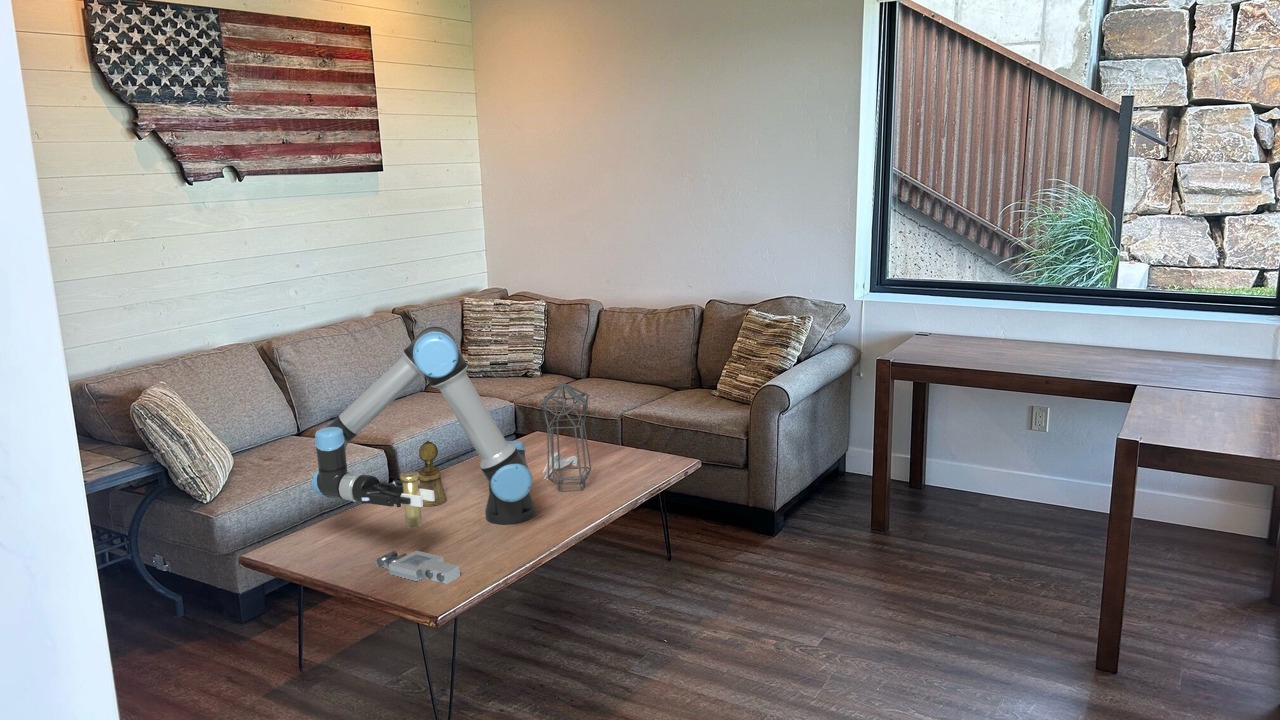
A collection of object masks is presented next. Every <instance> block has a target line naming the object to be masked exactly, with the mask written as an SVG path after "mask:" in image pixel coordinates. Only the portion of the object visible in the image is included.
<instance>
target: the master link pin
mask: <svg viewBox="0 0 1280 720" xmlns="http://www.w3.org/2000/svg"><path fill="white" fill-rule="evenodd" d="M419 473H420V472H418V471H406V472H402V473H400V474H399V481H402V485H403V493H404V494H411V495H417V496H419V487H420V486H419V487H418V484H419V478H420V477H419ZM403 506H404V513H405V514H404V515H405V521H406V527H407V528H409V529H412V528H413V529H414V528H418V527H421V526H422V525H423V521H422V510H421V508H422V507H417V506H411V505H405V504H403Z"/></svg>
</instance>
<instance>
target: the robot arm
mask: <svg viewBox="0 0 1280 720" xmlns="http://www.w3.org/2000/svg"><path fill="white" fill-rule="evenodd" d="M468 366H469V364H467V361H466V359H465V358H464V357H463V354H462V352H461V351H460V350H459V347H458V346H457V344H456V340H455V337H454V336H453V334H451V332H450V331H449V330H448V329H446V328H444V327H442V326H441V327H440V326H429V327H426V328H424V329H422V330H421V331H420V332H419V333H418V334H417V335H416V337H415V338H414V339H413V341H411V342H410V344H409V345H408V346H406V348H405V349H403V351H402V357H400V358H399V359H398V360H397V361H396V362H395V363H394V364H392V365H391V367H389V369H388V370H386V371H385V372H384V373H383V374H382V375H381V376H380V377H379V378H377V380H376V381H374V382H373V383H372V384H371V385H370V386H369V387H368V388H367V389H366V390H364V392H363V393H362V394H360V395H359V396H358V397H357V398H356V399H355V400H354V401H353V402H352V403H350V405H349V406H347V408H345V410H343V411H342V412H341V413H340V414H339V416H337V417H336V418H335V419H334V420H333V421H330V422H329V423H327V424H326V425H325V427H323V428H320V429H318V430H316V432H315V434H314V439H315V440H314V446H315V449H316V458H317V464H318V470H316V471H315V472H314V474H313V475H312V480H311V483H310V484H311V488H312V490H313V492H314V493H315V494H316V495H318V496H321V497H325V498H330V499H339V500H344V501H351V502H353V503H357V502H358V503H361V504H362V505H363V504H364V505H365V504H367V505H368V504H371V505H377V506H385V507H394V506H395V505H396V508H401V507H402V505H404V504H405V505H411V506H417V507H420V508H422V507H424V506H423V500H428V501H435V496H434V491H433V490H427V489H420V483H418V487H419V496H417V495H411V494H404V493H403V485H402V481H400V479H399V480H398V479H393V480H392V482H391V483H390V482H389V483H388V482H385V481H380V479H378V478H377V477H376V476H374V475H368V474H364V473H363V474H362V473H355V472H349V471H348V463H347V455H346V454H347V453H346V449H347V446H348V445H349V444H350V442H351V441H353V439H354V438H355V437H357V436H358V434H359V433H360V432H361V431H363V430H364V429H365V428H366V427H367V426H368V425H369V424H370V423H371V422H372V421H373V420H375V418H376V417H378V416H379V415H380V414H381V413H382V412H383V411H384V410H385V409H387V407H388V406H390V405H391V404H392V403H393V402H394V401H395V400H396V399H397V398H398V397H399V396H400V395H402V394H403V393H404V392H405V391H406V390H407V389H408V388H409V387H410V386H412V384H413V383H414V382H416V381H417V380H418V378H420V377H421V376H424V377H425V378H426V380H427V382H428V384H429V385H430V387H432V388H436V389H438V390H439V392H440V393H441V394H442V396H443V397H444V398H443V399H444V400H445V401H446V403H447V404H448V406H449V408H450V409H451V411H452V412H453V414H454V416H455V418H456V419H457V421H458V422H459V424H460V426H461V427H462V429H463V431H464V433H465V434H466V436H467V438H468V439H469V441H470V443H471V444H472V446H473V448H474V449H475V451H476V452H477V454H478V456H479V458H481V459H480V463H479V468H480V470H481V472H482V473H483V475H484V476H485V478H486V480H487V481H488V482H487V483H488V490H489V491H488V492H489V493H488V498H487V502H486V506H485V509H484V511H485V519H486V521H487V522H490V523H493V524H498V525H511V524H512V525H513V524H517V523H522V522H525V521H529V520H530V519H532V518H533V517H534V516H535V515H536V506H535V503H534V501H533V497H532V496H531V494H530V491H531V489H532V486H533V474H532V472H531V470H530V469H529V468H530V467H529V466H528V463H527V460H526V453H525V452H526V448H525V444H524V443H523V441H520V440H506V438H505V437H504V435H503V434H502V431H501V430H500V429H499V427H498V425H497V423H496V421H495V420H494V418H493V417H492V414H491V413H490V411H489V410H488V407H487V406H486V404H485V402H484V401H483V400H482V397H481V396H480V394H479V393H478V391H477V389H476V387H475V386H474V384H473V383H472V380H471V379H470V378H469V376H468V374H467V370H468ZM405 505H404V506H405Z"/></svg>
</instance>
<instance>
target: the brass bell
mask: <svg viewBox="0 0 1280 720" xmlns="http://www.w3.org/2000/svg"><path fill="white" fill-rule="evenodd" d="M438 453H439V449H438V447H437V445H436V444H435V443H433V442H432V441H429V440H427V441H425V442H424V443H423V444H422V445H420V447H419V450H418V455H419V458H420V459H421V460H422V461H423V463H424V467H422V468H420V469H419V472H418V473H419V477H420V478H419V479H418V481H419V487H420V489H427V490H433V491H434V496H435V501H428V500H423V505H424V506H423V507H435V506H434V505H436V506H438V505H442V504H444V503H446V502H447V500H448V499H447V494H446V493H445V491H444V490H445V489H444V486H443V482H442V478H441V477H442V475H441V471H440V469H439V467H438V466H434V462H433V461H434V460H435V459H436V458H437V457H438Z"/></svg>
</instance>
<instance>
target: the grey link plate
mask: <svg viewBox="0 0 1280 720" xmlns="http://www.w3.org/2000/svg"><path fill="white" fill-rule="evenodd" d="M374 562H375V566H376V567H378V566H379V567H378V568H382V567H384V568H383V569H386V568H387V569H386V570H388V571H389V576H392V575H395V576H394V577H396V576H399V577H398V578H400V577H402V578H401V579H404V578H406V579H405V580H407V579H410V580H409V581H411V580H414V581H413V582H415V581H418V582H420V581H422V580H424V579H425V578H426V580H428V581H429V580H430V581H432V582H433V581H434V582H437V583H442V584H446V585H448V584H450V583H451V582H453V581H455V580H457V579H458V578H460V577H461V570H460V565H458V564H454V563H453V564H452V563H449V562H445V561H444V556H441V555H437V554H434V553H429V552H423V551H419V550H415V551H412V552H410V553H409V554H407V553H405V552H404V553H402V554H400V555H399V554H398V553H397V551H396V550H392V551H390V552H388V553H386V554H384V555H382V556H380V557H378V558H376V560H375V561H374ZM415 565H416V566H415ZM423 578H424V579H423ZM421 579H422V580H421ZM419 580H420V581H419Z"/></svg>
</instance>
